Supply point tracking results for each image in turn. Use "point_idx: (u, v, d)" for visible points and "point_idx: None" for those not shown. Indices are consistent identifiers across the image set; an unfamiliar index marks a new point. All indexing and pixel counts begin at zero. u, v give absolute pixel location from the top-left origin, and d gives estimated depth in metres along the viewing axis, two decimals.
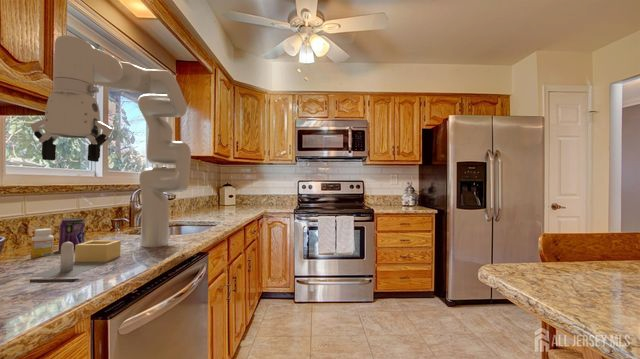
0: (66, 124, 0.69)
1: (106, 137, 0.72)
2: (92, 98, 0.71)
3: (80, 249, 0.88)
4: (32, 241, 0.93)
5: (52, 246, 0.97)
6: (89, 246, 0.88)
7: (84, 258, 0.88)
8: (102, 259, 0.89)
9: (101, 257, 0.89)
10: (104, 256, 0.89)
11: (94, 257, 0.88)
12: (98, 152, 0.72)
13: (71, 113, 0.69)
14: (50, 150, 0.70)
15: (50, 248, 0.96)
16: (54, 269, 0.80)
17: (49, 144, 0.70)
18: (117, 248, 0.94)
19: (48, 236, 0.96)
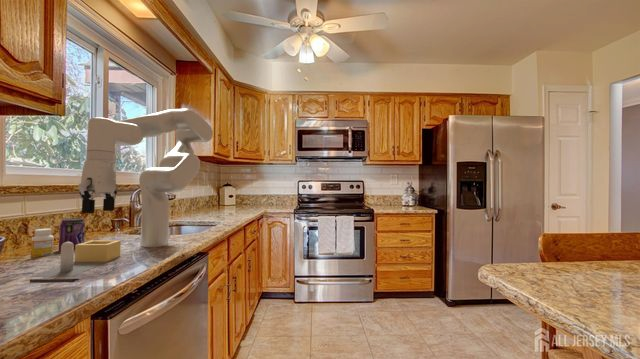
0: (108, 185, 0.92)
1: None
2: None
3: (80, 249, 0.88)
4: (32, 241, 0.93)
5: (52, 246, 0.97)
6: (89, 246, 0.88)
7: (84, 258, 0.88)
8: (102, 259, 0.89)
9: (101, 257, 0.89)
10: (104, 256, 0.89)
11: (94, 257, 0.88)
12: None
13: (111, 177, 0.94)
14: None
15: (50, 248, 0.96)
16: (54, 269, 0.80)
17: None
18: (117, 248, 0.94)
19: (48, 236, 0.96)
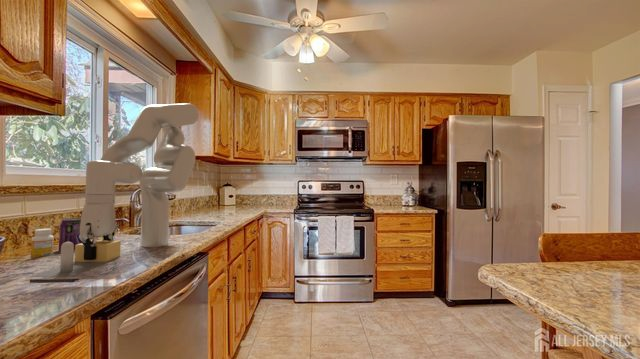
0: (107, 227, 0.92)
1: None
2: None
3: (80, 249, 0.88)
4: (32, 241, 0.93)
5: (52, 246, 0.97)
6: None
7: None
8: (102, 259, 0.89)
9: (101, 257, 0.89)
10: (104, 256, 0.89)
11: None
12: None
13: (110, 219, 0.93)
14: None
15: (50, 248, 0.96)
16: (54, 269, 0.80)
17: None
18: (117, 248, 0.94)
19: (48, 236, 0.96)
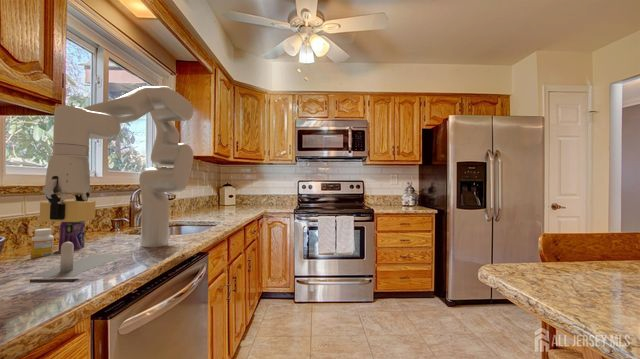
0: (79, 184, 0.80)
1: None
2: None
3: (46, 207, 0.75)
4: (32, 241, 0.93)
5: (52, 246, 0.97)
6: None
7: None
8: (71, 219, 0.76)
9: (70, 216, 0.76)
10: (74, 216, 0.76)
11: None
12: None
13: (83, 175, 0.81)
14: None
15: (50, 248, 0.96)
16: (54, 269, 0.80)
17: None
18: (91, 209, 0.82)
19: (48, 236, 0.96)
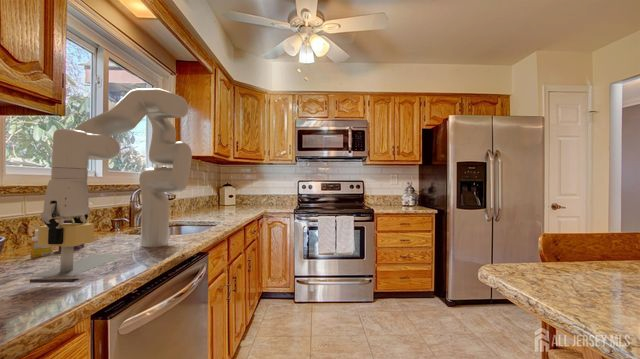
0: (77, 208, 0.79)
1: None
2: None
3: (44, 231, 0.75)
4: (32, 241, 0.93)
5: (52, 246, 0.97)
6: None
7: None
8: (70, 243, 0.76)
9: (68, 241, 0.76)
10: (72, 240, 0.76)
11: None
12: None
13: (81, 198, 0.81)
14: None
15: (50, 248, 0.96)
16: (54, 269, 0.80)
17: None
18: (89, 232, 0.81)
19: None
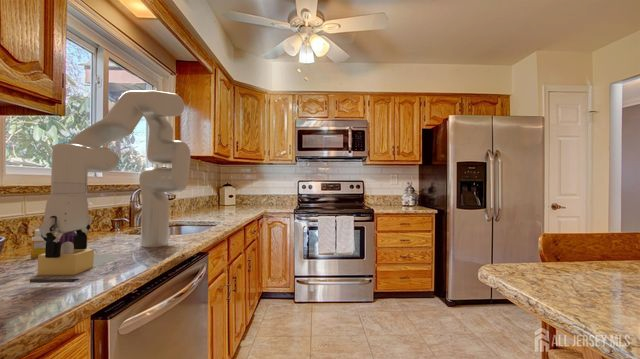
0: (77, 222, 0.79)
1: None
2: None
3: (44, 260, 0.75)
4: (32, 241, 0.93)
5: None
6: None
7: (48, 271, 0.75)
8: (70, 272, 0.76)
9: (68, 269, 0.76)
10: (72, 268, 0.76)
11: (60, 269, 0.76)
12: None
13: (81, 212, 0.81)
14: None
15: None
16: None
17: None
18: (89, 258, 0.81)
19: None
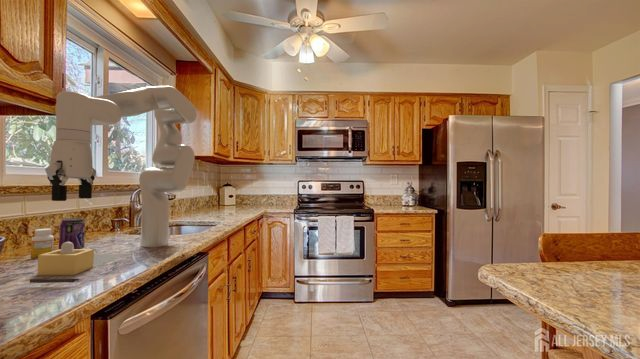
0: (82, 169, 0.81)
1: None
2: None
3: (44, 260, 0.75)
4: (32, 241, 0.93)
5: (52, 246, 0.97)
6: (54, 257, 0.75)
7: (48, 271, 0.75)
8: (70, 272, 0.76)
9: (68, 269, 0.76)
10: (72, 268, 0.76)
11: (60, 269, 0.76)
12: None
13: (86, 160, 0.82)
14: None
15: (50, 248, 0.96)
16: None
17: None
18: (89, 258, 0.81)
19: (48, 236, 0.96)
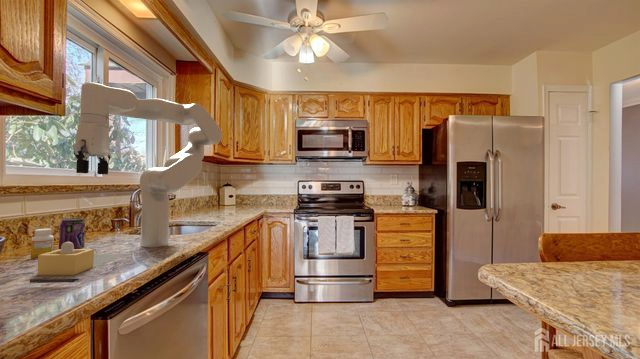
0: (101, 148, 0.96)
1: None
2: None
3: (44, 260, 0.75)
4: (32, 241, 0.93)
5: (52, 246, 0.97)
6: (54, 257, 0.75)
7: (48, 271, 0.75)
8: (70, 272, 0.76)
9: (68, 269, 0.76)
10: (72, 268, 0.76)
11: (60, 269, 0.76)
12: None
13: (104, 141, 0.97)
14: None
15: (50, 248, 0.96)
16: None
17: None
18: (89, 258, 0.81)
19: (48, 236, 0.96)
